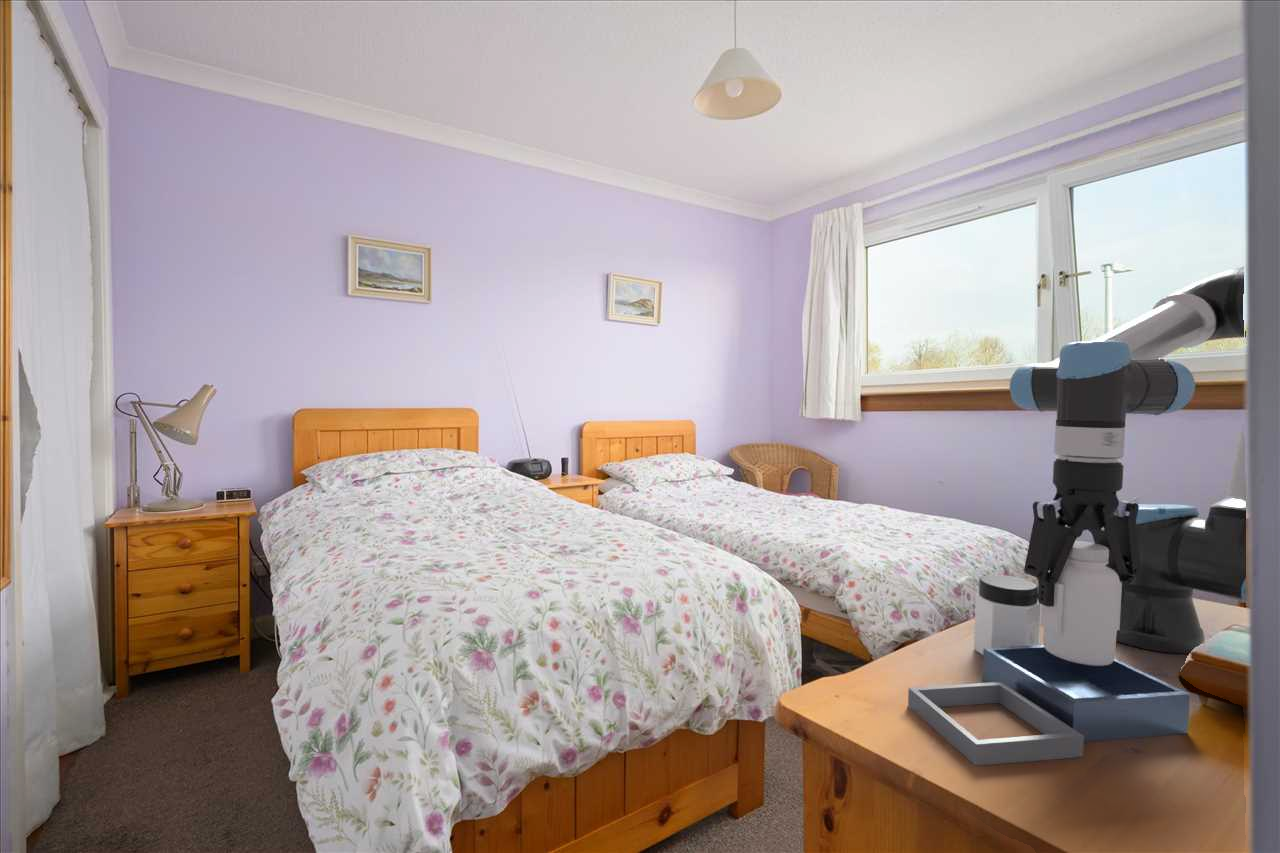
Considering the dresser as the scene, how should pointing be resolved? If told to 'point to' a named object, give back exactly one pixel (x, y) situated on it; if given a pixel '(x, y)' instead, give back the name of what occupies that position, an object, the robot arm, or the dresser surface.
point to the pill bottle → (1087, 608)
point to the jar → (1006, 613)
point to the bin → (1090, 693)
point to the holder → (1001, 750)
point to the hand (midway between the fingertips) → (1079, 627)
